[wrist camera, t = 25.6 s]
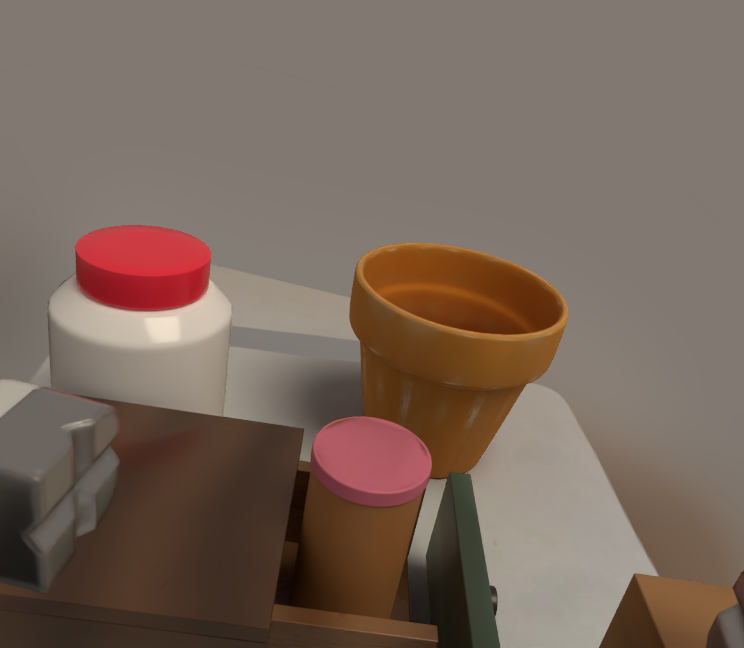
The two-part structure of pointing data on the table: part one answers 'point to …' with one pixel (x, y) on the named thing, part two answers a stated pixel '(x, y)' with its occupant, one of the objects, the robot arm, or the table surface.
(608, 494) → the table surface
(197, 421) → the cabinet
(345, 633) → the drawer
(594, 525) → the table surface
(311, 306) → the table surface
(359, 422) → the pink-rimmed cylinder
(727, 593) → the stand
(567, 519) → the table surface
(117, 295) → the pill bottle
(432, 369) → the flower pot
